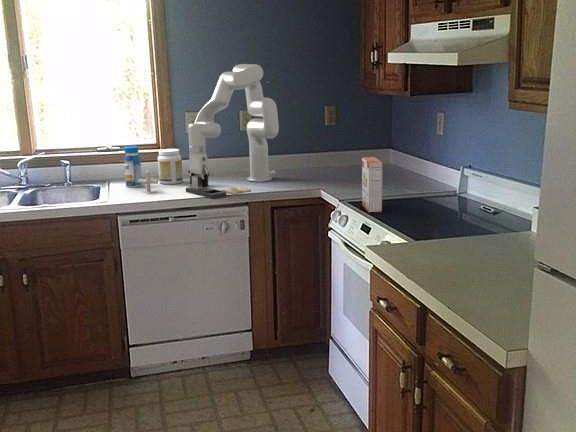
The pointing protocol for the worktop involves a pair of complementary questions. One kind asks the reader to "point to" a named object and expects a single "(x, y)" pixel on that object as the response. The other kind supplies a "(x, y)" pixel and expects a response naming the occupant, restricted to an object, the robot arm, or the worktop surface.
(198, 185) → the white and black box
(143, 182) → the pipe connector
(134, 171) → the beverage bottle
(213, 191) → the rack rail
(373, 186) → the cracker box
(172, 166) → the supplement tub
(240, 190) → the oak coaster
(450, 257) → the worktop surface
